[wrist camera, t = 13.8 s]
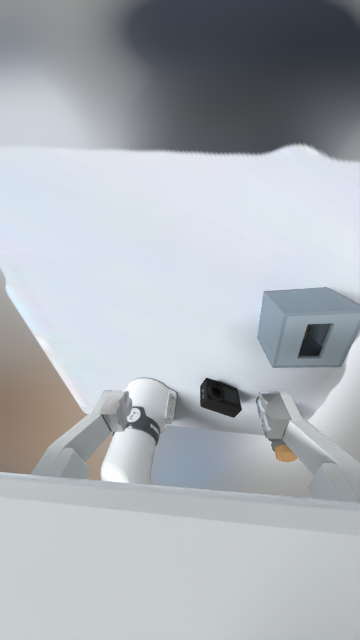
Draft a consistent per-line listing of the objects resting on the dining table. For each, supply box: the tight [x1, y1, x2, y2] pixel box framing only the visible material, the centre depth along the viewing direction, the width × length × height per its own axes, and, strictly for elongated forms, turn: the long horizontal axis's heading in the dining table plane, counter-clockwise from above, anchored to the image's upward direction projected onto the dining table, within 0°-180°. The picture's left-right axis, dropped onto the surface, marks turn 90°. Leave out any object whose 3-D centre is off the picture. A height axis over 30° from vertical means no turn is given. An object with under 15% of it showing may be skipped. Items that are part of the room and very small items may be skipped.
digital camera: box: [200, 378, 242, 418], centre depth 49 cm, size 10×5×7 cm, turn 69°
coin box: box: [258, 287, 360, 368], centre depth 34 cm, size 12×12×10 cm
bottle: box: [256, 397, 298, 462], centre depth 47 cm, size 6×6×15 cm
